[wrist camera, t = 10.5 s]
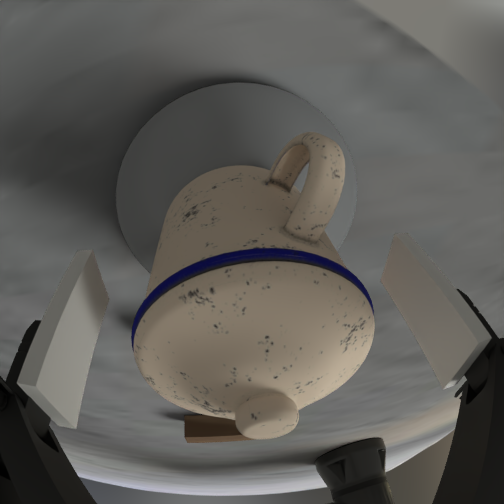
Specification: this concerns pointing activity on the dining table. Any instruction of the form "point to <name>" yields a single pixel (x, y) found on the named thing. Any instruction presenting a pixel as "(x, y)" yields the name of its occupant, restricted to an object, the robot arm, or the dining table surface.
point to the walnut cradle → (211, 429)
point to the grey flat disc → (216, 154)
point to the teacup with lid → (254, 294)
